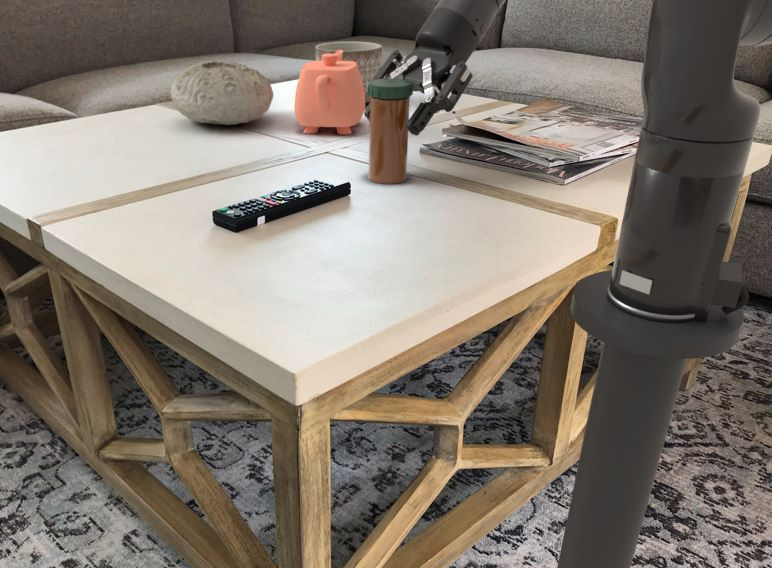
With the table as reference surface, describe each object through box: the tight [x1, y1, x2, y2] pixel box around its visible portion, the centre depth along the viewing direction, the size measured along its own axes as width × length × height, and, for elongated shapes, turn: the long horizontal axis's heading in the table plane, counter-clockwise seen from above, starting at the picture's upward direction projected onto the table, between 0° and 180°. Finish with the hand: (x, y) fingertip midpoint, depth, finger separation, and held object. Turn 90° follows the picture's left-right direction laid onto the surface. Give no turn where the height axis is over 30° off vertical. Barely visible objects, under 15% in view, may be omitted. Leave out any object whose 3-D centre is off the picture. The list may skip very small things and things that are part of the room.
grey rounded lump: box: [169, 59, 274, 126], centre depth 129 cm, size 18×18×10 cm
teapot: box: [294, 50, 366, 135], centre depth 125 cm, size 20×12×12 cm, turn 170°
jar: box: [368, 96, 411, 185], centre depth 99 cm, size 5×5×12 cm
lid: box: [368, 78, 414, 99], centre depth 96 cm, size 6×6×2 cm
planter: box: [314, 41, 383, 104], centre depth 143 cm, size 13×13×10 cm
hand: (389, 125), depth 98 cm, fingers open, 8 cm apart
